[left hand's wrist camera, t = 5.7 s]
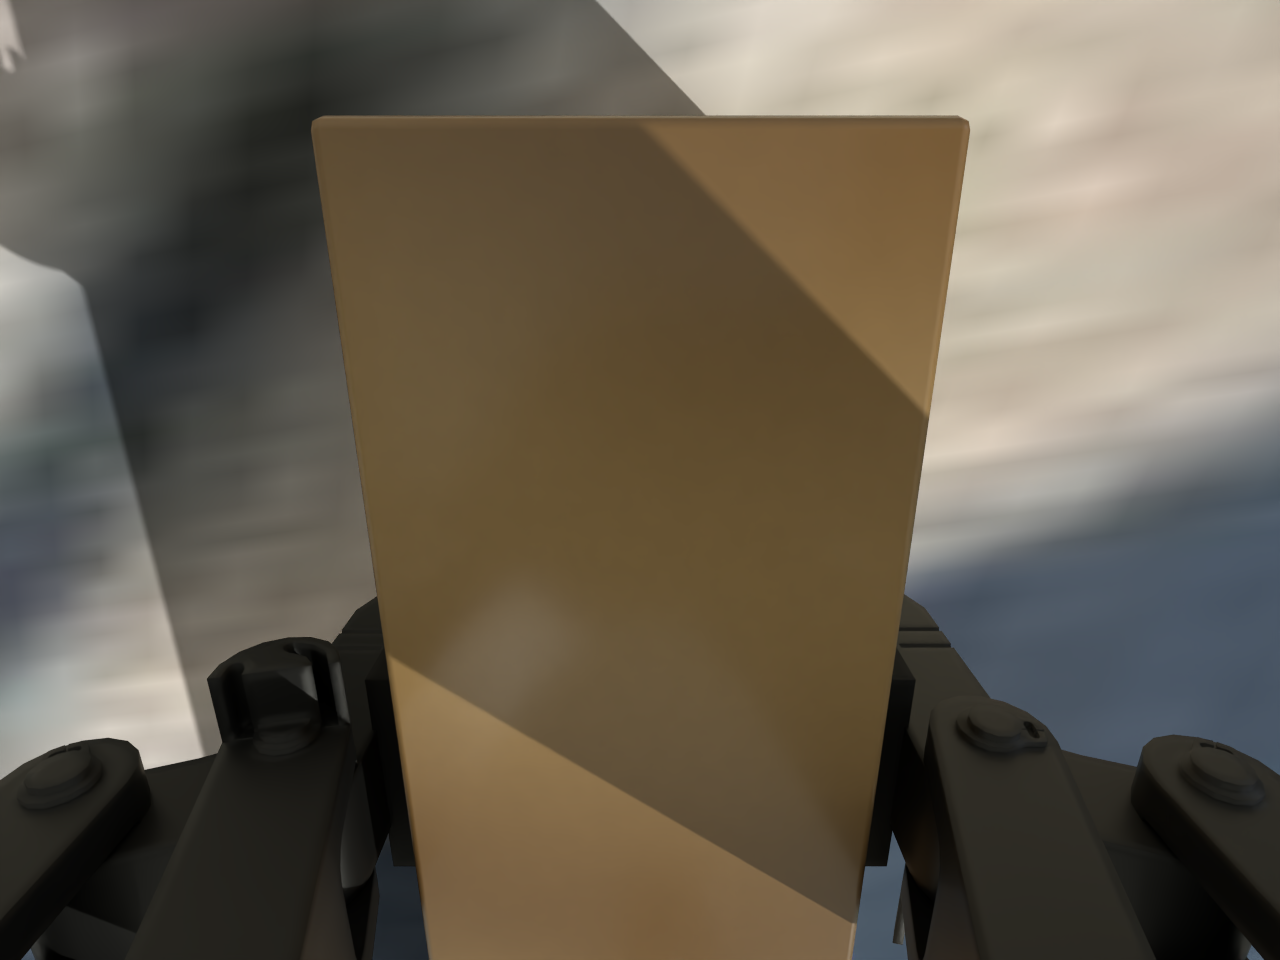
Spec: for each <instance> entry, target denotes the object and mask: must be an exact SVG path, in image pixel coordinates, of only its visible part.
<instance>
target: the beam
mask: <svg viewBox="0 0 1280 960" xmlns="http://www.w3.org/2000/svg"><path fill="white" fill-rule="evenodd" d="M311 134H312V141H313V148H314V155H315V162H316V169H317V176H318V183H319V190H320V197H321V204H322V211H323V218H324V226H325V233H326V240H327V247H328V254H329V261H330V268H331V275H332V282H333V289H334V296H335V303H336V310H337V317H338V324H339V331H340V338H341V345H342V352H343V359H344V366H345V373H346V380H347V387H348V394H349V401H350V408H351V415H352V422H353V429H354V436H355V443H356V450H357V457H358V464H359V471H360V478H361V485H362V492H363V499H364V506H365V514H366V521H367V528H368V535H369V542H370V549H371V556H372V563H373V570H374V577H375V584H376V591H377V598H378V605H379V612H380V619H381V626H382V633H383V640H384V647H385V654H386V661H387V668H388V675H389V682H390V689H391V696H392V703H393V710H394V717H395V724H396V731H397V738H398V745H399V752H400V759H401V766H402V773H403V780H404V787H405V795H406V802H407V809H408V816H409V823H410V830H411V837H412V844H413V851H414V858H415V865H416V872H417V879H418V886H419V893H420V900H421V907H422V914H423V921H424V928H425V935H426V942H427V949H428V956H429V960H852V954H853V947H854V940H855V933H856V926H857V919H858V912H859V905H860V898H861V891H862V884H863V877H864V870H865V863H866V856H867V849H868V842H869V835H870V828H871V821H872V814H873V807H874V800H875V793H876V786H877V779H878V772H879V765H880V758H881V751H882V744H883V737H884V730H885V723H886V716H887V709H888V702H889V695H890V688H891V681H892V674H893V667H894V660H895V653H896V646H897V639H898V632H899V625H900V618H901V611H902V604H903V597H904V590H905V583H906V576H907V569H908V562H909V555H910V548H911V541H912V534H913V527H914V519H915V512H916V505H917V498H918V491H919V484H920V477H921V470H922V463H923V456H924V449H925V442H926V435H927V428H928V421H929V414H930V407H931V400H932V393H933V386H934V379H935V372H936V365H937V358H938V351H939V344H940V337H941V330H942V323H943V316H944V309H945V302H946V295H947V288H948V281H949V274H950V267H951V260H952V253H953V246H954V239H955V232H956V225H957V218H958V211H959V204H960V197H961V190H962V183H963V176H964V169H965V162H966V155H967V148H968V141H969V134H970V127H969V121H967V120H966V119H964V118H962V117H959V116H322V117H320V118H318V119H315V120H314V121H312V127H311Z"/></svg>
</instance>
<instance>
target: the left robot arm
mask: <svg viewBox="0 0 1280 960" xmlns="http://www.w3.org/2000/svg"><path fill="white" fill-rule="evenodd" d="M207 681H208V685H209V689H210V693H211V698H212V702H213V706H214V710H215V714H216V718H217V722H218V726H219V730H220V734H221V738H222V742H223V743H222V745H221V747H220V749H219V752H218V753H217V754H213V755H210V756H206V757H203V758H199V759H194V760H189V761H185V762H180V763H175V764H170V765H166V766H161V767H156V768H152V769H147V770H144V767H143V764H142V760H141V757H140V754H139V750H138V749H136V748H135V747H134V746H133V745H132V744H131V743H129V742H128V741H124V740H118V739H112V738H103V739H94V740H85V741H80V742H76V743H72V744H69V745H67V746H65V745H64V746H61V747H58V748H56V749H53V750H50V751H48V752H47V753H45V754H43V755H41V756H39V757H37V758H35V759H33V760H30V761H28V762H26V763H24V764H23V765H21V766H20V767H18V768H17V769H15V770H14V771H13V772H11V773H10V774H8V775H7V776H6V777H4V778H3V779H1V780H0V960H21V959H22V958H23V957H24V955H25V954H26V953H27V952H28V951H29V950H30V948H31V950H32V953H33V955H34V958H35V960H372V956H373V948H374V939H375V931H376V922H377V914H378V905H379V897H380V896H379V888H378V881H377V875H376V869H375V865H376V862H377V860H378V857H379V855H380V852H381V850H382V847H383V845H384V843H385V840H386V838H387V835H388V833H389V839H390V845H391V852H392V858H393V865H394V866H416V865H415V858H414V851H413V844H412V837H411V830H410V823H409V816H408V809H407V802H406V795H405V787H404V780H403V773H402V766H401V759H400V752H399V745H398V738H397V731H396V724H395V717H394V710H393V703H392V696H391V689H390V682H389V675H388V668H387V661H386V654H385V647H384V640H383V633H382V626H381V619H380V612H379V605H378V598H377V597H375V598H374V599H372V600H371V601H369V602H368V603H366V604H365V605H363V606H362V607H360V608H359V609H357V610H356V611H355V613H354V614H353V615H352V617H351V618H350V620H349V621H348V622H347V624H346V625H345V627H344V628H343V629H342V634H339V635H338V636H337V638H336V639H335V640H334V642H333V643H332V644H331V643H330V642H328V641H325V640H321V639H317V638H312V637H288V638H283V639H278V640H274V641H269V642H264V643H261V644H259V645H256V646H253V647H251V648H248V649H246V650H243V651H241V652H239V653H237V654H235V655H234V656H232V657H231V658H229V659H228V660H226V661H224V662H223V663H221V664H220V665H219V666H218V667H217V668H216V669H215V670H214V671H213V673H212V674H211V675H210V676H209V677H208V678H207ZM892 830H893V833H894V835H895V838H896V840H897V843H898V845H899V847H900V850H901V852H902V855H903V857H904V860H905V862H906V863H905V869H904V875H903V881H902V887H901V893H900V899H899V904H898V910H897V916H896V922H895V929H894V936H893V943H896V944H901V945H903V939H904V933H905V938H906V946H907V954H908V960H1249V959H1248V958H1247V955H1248V952H1249V950H1250V947H1251V945H1252V946H1253V947H1254V948H1255V949H1256V950H1257V952H1258V953H1259V954H1260V955H1261V956H1262V958H1263V959H1264V960H1280V775H1278V774H1277V773H1275V772H1274V771H1273V770H1271V769H1270V768H1268V767H1267V766H1265V765H1264V764H1263V763H1261V762H1260V761H1258V760H1256V759H1254V758H1252V757H1250V756H1248V755H1246V754H1244V753H1241V752H1239V751H1237V750H1235V749H1234V748H1232V747H1230V746H1227V745H1224V744H1221V743H1218V742H1217V743H1216V742H1213V741H1211V740H1207V739H1202V738H1198V737H1189V736H1181V735H1169V736H1162V737H1156V738H1153V739H1152V740H1151V741H1150V742H1148V743H1147V744H1146V745H1145V746H1144V747H1143V749H1142V752H1141V756H1140V759H1139V762H1138V766H1137V767H1134V766H1130V765H1125V764H1120V763H1116V762H1111V761H1106V760H1101V759H1097V758H1092V757H1087V756H1083V755H1079V754H1075V753H1071V752H1068V751H1064V750H1061V748H1060V746H1059V744H1058V742H1057V740H1056V739H1055V738H1054V736H1053V735H1052V733H1051V732H1050V731H1049V729H1048V728H1047V727H1046V726H1045V725H1044V724H1043V723H1041V722H1040V721H1038V720H1037V719H1036V718H1034V717H1033V716H1032V715H1030V714H1029V713H1028V712H1026V711H1023V710H1021V709H1019V708H1017V707H1014V706H1012V705H1010V704H1008V703H1006V702H1003V701H998V700H994V699H991V698H990V697H989V696H988V694H987V693H986V692H985V690H984V689H983V687H982V686H981V685H980V683H979V682H978V681H977V679H976V678H975V676H974V675H973V674H972V672H971V671H970V670H969V668H968V667H967V665H966V664H965V663H964V661H963V660H962V659H961V657H960V656H959V654H958V653H957V652H956V650H955V649H954V648H951V643H950V642H949V641H948V639H947V638H946V637H945V635H944V634H943V632H942V631H939V627H938V626H937V624H936V623H935V621H934V620H933V619H932V617H931V616H930V615H929V613H928V612H927V610H926V609H925V608H924V607H923V606H921V605H920V604H918V603H917V602H915V601H914V600H912V599H911V598H909V597H907V596H906V595H904V597H903V604H902V611H901V618H900V625H899V632H898V639H897V646H896V653H895V660H894V667H893V674H892V681H891V688H890V695H889V702H888V709H887V716H886V723H885V730H884V737H883V744H882V751H881V758H880V765H879V772H878V779H877V786H876V793H875V800H874V807H873V814H872V821H871V828H870V835H869V842H868V849H867V856H866V863H865V866H887V861H888V855H889V849H890V842H891V836H892Z"/></svg>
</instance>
